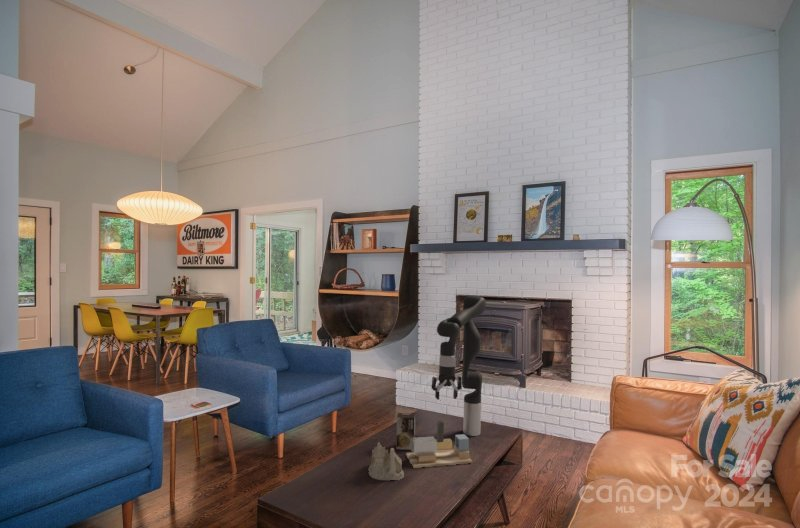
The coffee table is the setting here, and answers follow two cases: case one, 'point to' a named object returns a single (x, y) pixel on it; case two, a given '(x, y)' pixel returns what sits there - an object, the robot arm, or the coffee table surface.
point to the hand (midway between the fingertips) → (446, 398)
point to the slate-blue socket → (462, 446)
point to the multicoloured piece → (440, 441)
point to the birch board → (439, 459)
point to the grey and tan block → (424, 449)
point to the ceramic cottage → (385, 464)
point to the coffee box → (405, 430)
